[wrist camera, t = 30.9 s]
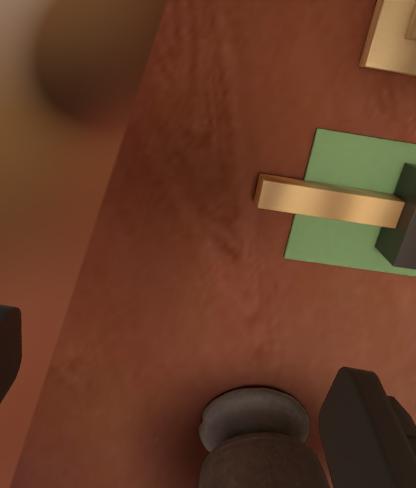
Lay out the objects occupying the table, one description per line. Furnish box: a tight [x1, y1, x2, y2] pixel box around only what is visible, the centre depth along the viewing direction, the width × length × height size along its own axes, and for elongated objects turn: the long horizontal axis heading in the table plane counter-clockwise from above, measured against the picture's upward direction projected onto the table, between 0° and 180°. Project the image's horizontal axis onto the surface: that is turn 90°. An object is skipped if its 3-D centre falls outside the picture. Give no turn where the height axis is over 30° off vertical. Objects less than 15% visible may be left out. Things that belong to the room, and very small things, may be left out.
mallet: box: [254, 163, 416, 270], centre depth 33 cm, size 16×8×4 cm, turn 81°
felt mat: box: [284, 128, 416, 276], centre depth 36 cm, size 20×12×1 cm, turn 81°
